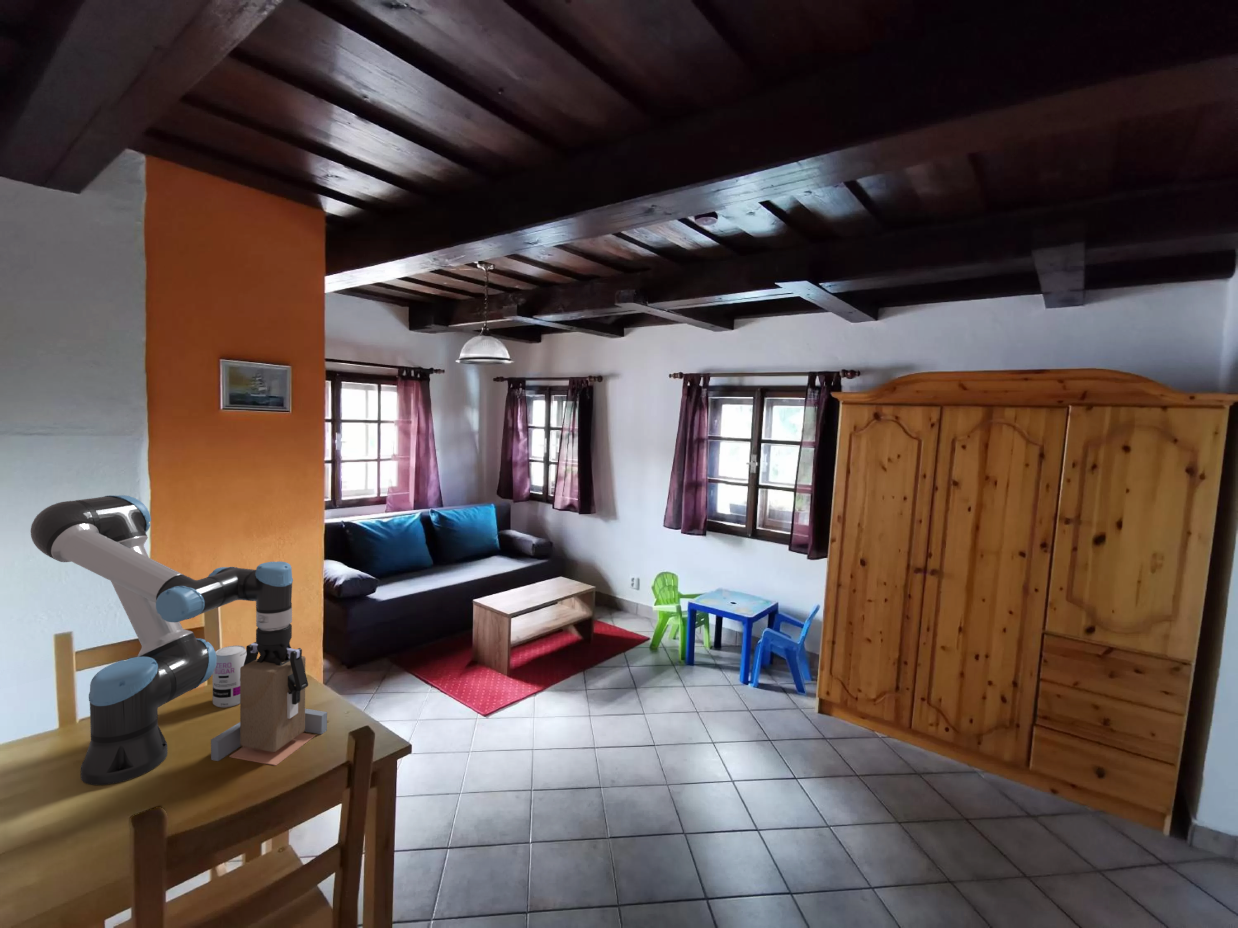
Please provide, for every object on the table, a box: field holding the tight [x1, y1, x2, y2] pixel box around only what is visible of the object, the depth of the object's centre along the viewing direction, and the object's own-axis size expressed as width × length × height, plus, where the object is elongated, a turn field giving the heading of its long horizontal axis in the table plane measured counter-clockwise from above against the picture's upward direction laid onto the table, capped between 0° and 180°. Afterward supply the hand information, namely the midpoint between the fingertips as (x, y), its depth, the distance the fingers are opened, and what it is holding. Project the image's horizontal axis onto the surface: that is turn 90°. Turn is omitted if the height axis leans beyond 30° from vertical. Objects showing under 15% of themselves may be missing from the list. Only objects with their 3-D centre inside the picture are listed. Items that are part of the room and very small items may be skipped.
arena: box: [210, 708, 328, 766], centre depth 141 cm, size 18×18×5 cm
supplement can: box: [212, 645, 247, 708], centre depth 159 cm, size 8×8×15 cm
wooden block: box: [239, 655, 307, 752], centre depth 139 cm, size 10×10×20 cm
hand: (273, 712), depth 139 cm, fingers closed on wooden block, 10 cm apart
